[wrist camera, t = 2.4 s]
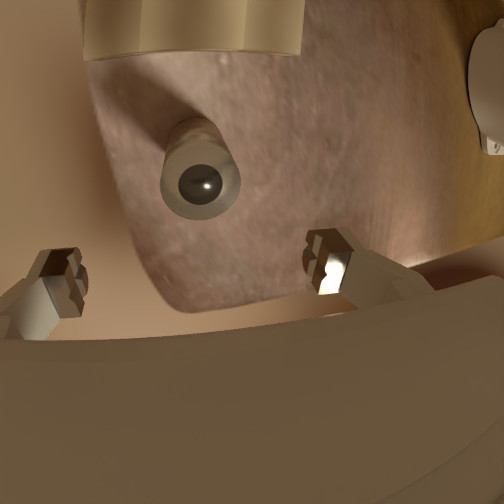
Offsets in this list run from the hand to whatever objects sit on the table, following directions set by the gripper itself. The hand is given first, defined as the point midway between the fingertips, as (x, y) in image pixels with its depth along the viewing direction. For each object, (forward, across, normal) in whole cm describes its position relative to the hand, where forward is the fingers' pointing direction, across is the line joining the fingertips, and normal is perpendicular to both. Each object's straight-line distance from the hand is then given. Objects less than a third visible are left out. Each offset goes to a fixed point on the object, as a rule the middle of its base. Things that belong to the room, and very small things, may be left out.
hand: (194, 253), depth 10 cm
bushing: (+13, -1, 0) cm, 13 cm away
